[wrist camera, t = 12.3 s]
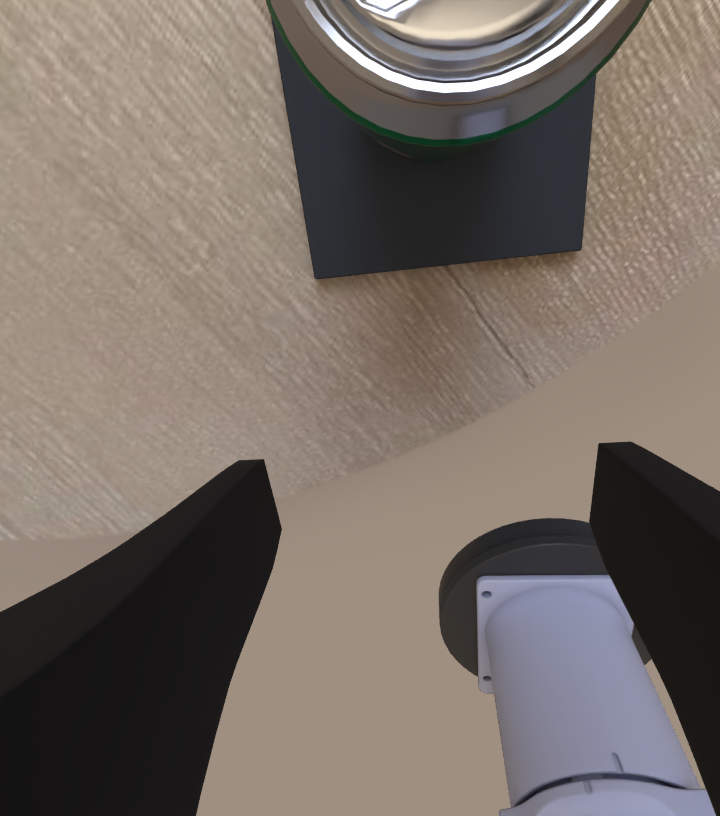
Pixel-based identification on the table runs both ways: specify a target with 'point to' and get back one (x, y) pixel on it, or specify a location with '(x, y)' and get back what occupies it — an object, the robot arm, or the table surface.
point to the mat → (434, 188)
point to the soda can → (451, 63)
